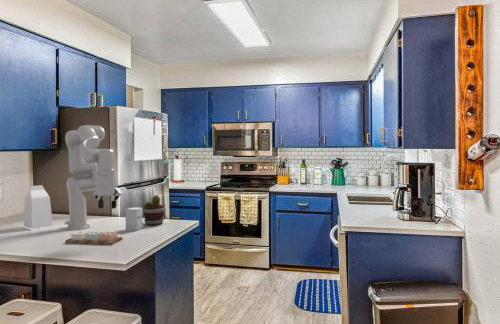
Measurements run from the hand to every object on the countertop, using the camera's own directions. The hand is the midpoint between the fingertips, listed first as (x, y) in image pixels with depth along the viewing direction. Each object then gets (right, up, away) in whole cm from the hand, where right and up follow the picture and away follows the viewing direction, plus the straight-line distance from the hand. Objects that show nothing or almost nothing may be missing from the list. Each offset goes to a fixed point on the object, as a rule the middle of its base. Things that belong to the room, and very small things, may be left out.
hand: (107, 207), depth 183 cm
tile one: (-16, -16, +3) cm, 23 cm away
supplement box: (+4, -17, +29) cm, 34 cm away
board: (-8, -18, +2) cm, 19 cm away
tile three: (0, -16, +1) cm, 16 cm away
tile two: (-8, -16, +2) cm, 18 cm away
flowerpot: (+12, -16, +44) cm, 49 cm away
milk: (-59, -17, +39) cm, 73 cm away
